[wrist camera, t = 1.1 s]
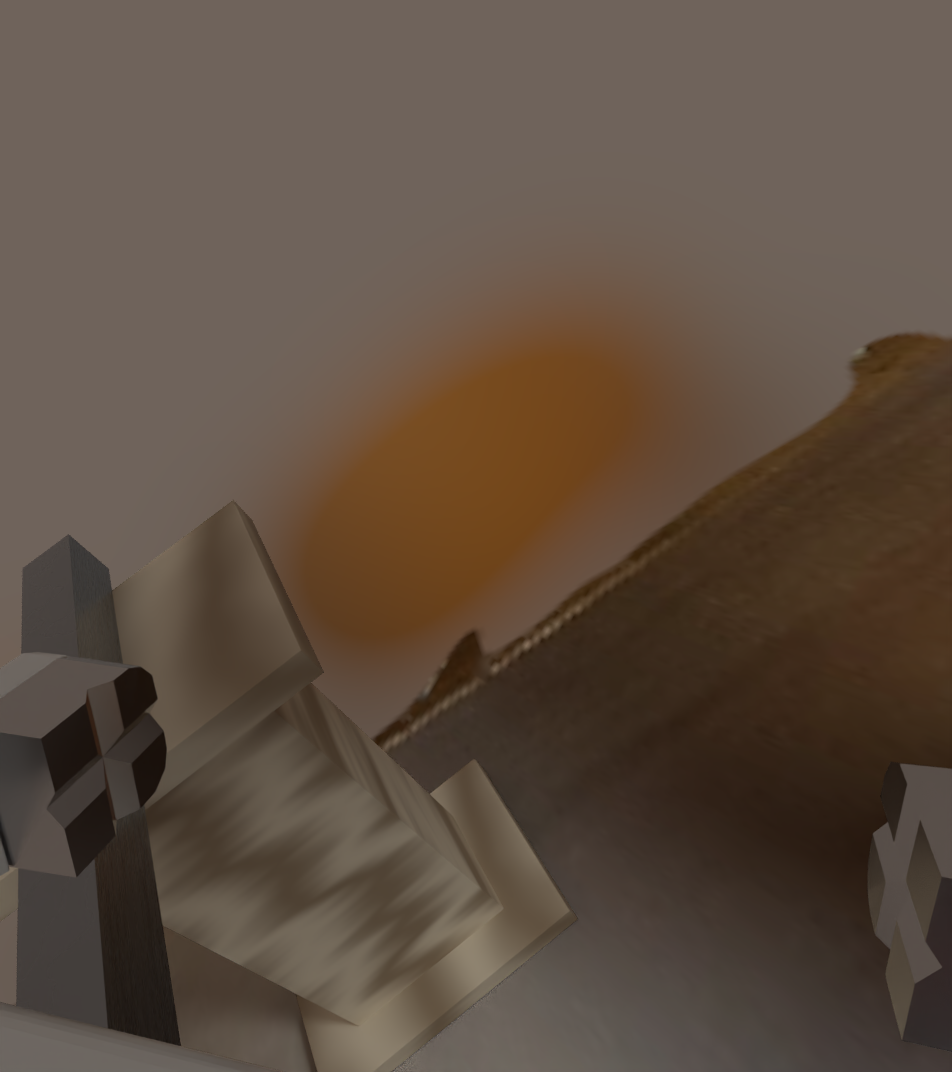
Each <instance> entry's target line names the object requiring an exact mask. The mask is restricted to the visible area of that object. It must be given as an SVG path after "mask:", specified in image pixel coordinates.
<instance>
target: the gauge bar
mask: <svg viewBox="0 0 952 1072" xmlns="http://www.w3.org/2000/svg"><path fill="white" fill-rule="evenodd" d="M22 586H23V587H22V651H21V653H22V654H23V653H33V652H43V653H51V654H60V655H66V656H69V657H71V656H74V657H80V658H87V659H94V660H101V661H107V662H114V663H121V664H123V660H122V654H121V647H120V641H119V634H118V627H117V621H116V614H115V608H114V601H113V594H112V588H111V581H110V574H109V569H108V568H107V567H106V566H105V565H104V564H102V563H101V562H100V561H99V560H98V559H97V558H96V557H94V556H93V555H92V554H91V553H90V552H89V551H87V550H86V549H85V548H84V547H82V546H81V545H80V544H79V543H78V542H77V541H76V540H74V539H73V538H72V537H71V536H70V535H67V536H66V537H64V538H63V539H62V540H61V541H59V542H58V543H56V544H55V545H54V546H52V547H51V548H50V549H48V550H47V551H45V552H44V553H43V554H41V555H40V556H39V557H37V558H36V559H35V560H33V561H32V562H31V563H29V564H28V565H27V566H25V567H24V568H23V582H22ZM17 936H18V939H17V1002H16V1006H18V1007H22V1008H26V1009H31V1010H35V1011H39V1012H43V1013H47V1014H51V1015H55V1016H59V1017H63V1018H67V1019H71V1020H75V1021H80V1022H84V1023H88V1024H92V1025H96V1026H100V1027H104V1028H108V1029H112V1030H116V1031H120V1032H124V1033H129V1034H133V1035H137V1036H141V1037H145V1038H149V1039H153V1040H157V1041H161V1042H165V1043H169V1044H173V1045H178V1046H181V1044H180V1038H179V1031H178V1024H177V1018H176V1011H175V1004H174V998H173V991H172V985H171V978H170V971H169V965H168V958H167V952H166V945H165V938H164V932H163V925H162V918H161V912H160V905H159V899H158V892H157V885H156V879H155V872H154V866H153V859H152V852H151V846H150V839H149V832H148V826H147V819H146V813H145V806H144V805H143V807H142V808H141V809H139V810H137V811H135V812H133V813H131V814H129V815H126V816H124V817H122V818H120V819H118V820H116V836H115V837H114V838H113V839H112V840H111V841H110V842H109V843H108V844H107V846H106V847H105V848H104V849H103V850H102V851H101V852H100V853H99V854H98V855H97V856H96V857H95V858H94V860H93V861H92V862H91V863H90V864H89V865H88V866H87V867H86V868H85V869H84V870H83V871H82V872H81V873H80V875H79V876H78V877H77V878H75V877H69V876H63V875H57V874H51V873H45V872H39V871H33V870H26V869H20V868H18V935H17Z"/></svg>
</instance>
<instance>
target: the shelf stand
mask: <svg viewBox="0 0 952 1072" xmlns="http://www.w3.org/2000/svg"><path fill="white" fill-rule="evenodd" d="M112 594H113V601H114V608H115V614H116V621H117V627H118V634H119V641H120V647H121V654H122V660H123V664H127V665H134V666H141V667H142V668H143V669H145V670H146V671H148V672H149V673H150V674H152V676H153V681H154V685H155V689H156V693H157V697H158V700H157V701H156V703H155V705H154V707H153V708H152V710H151V712H150V714H151V716H152V717H153V718H154V719H155V721H156V722H157V723H158V724H159V725H160V727H161V728H162V729H163V730H164V734H165V740H166V746H167V754H166V766H165V770H164V773H163V775H162V777H161V780H160V782H159V785H158V787H157V789H156V792H155V793H154V794H153V795H152V796H151V797H150V799H149V800H148V801H147V802H146V803H145V804H144V806H145V813H146V819H147V826H148V832H149V839H150V846H151V852H152V859H153V866H154V872H155V879H156V885H157V892H158V899H159V905H160V912H161V918H162V925H163V926H165V927H167V928H168V929H170V930H172V931H174V932H176V933H178V934H180V935H182V936H184V937H186V938H188V939H190V940H192V941H194V942H196V943H198V944H200V945H202V946H204V947H206V948H208V949H209V950H211V951H213V952H215V953H217V954H219V955H221V956H223V957H225V958H227V959H229V960H231V961H233V962H235V963H237V964H239V965H241V966H243V967H245V968H247V969H248V970H250V971H252V972H254V973H256V974H258V975H260V976H262V977H264V978H266V979H268V980H270V981H272V982H274V983H276V984H278V985H280V986H282V987H284V988H286V989H287V990H289V991H291V992H293V993H295V994H296V997H297V1001H298V1005H299V1008H300V1012H301V1015H302V1019H303V1022H304V1026H305V1029H306V1033H307V1037H308V1040H309V1044H310V1047H311V1051H312V1054H313V1058H314V1062H315V1065H316V1069H317V1072H392V1071H393V1070H394V1069H395V1068H396V1067H398V1066H399V1065H400V1064H401V1063H403V1062H404V1061H405V1060H406V1059H407V1058H409V1057H410V1056H411V1055H412V1054H414V1053H415V1052H416V1051H417V1050H418V1049H420V1048H421V1047H422V1046H423V1045H425V1044H426V1043H427V1042H428V1041H429V1040H431V1039H432V1038H433V1037H434V1036H436V1035H437V1034H438V1033H439V1032H440V1031H442V1030H443V1029H444V1028H445V1027H447V1026H448V1025H449V1024H450V1023H451V1022H453V1021H454V1020H455V1019H456V1018H458V1017H459V1016H460V1015H461V1014H462V1013H464V1012H465V1011H466V1010H467V1009H469V1008H470V1007H471V1006H472V1005H473V1004H475V1003H476V1002H477V1001H478V1000H480V999H481V998H482V997H483V996H484V995H486V994H487V993H488V992H489V991H491V990H492V989H493V988H494V987H495V986H497V985H498V984H499V983H500V982H502V981H503V980H504V979H505V978H506V977H508V976H509V975H510V974H511V973H513V972H514V971H515V970H516V969H517V968H519V967H520V966H521V965H522V964H524V963H525V962H526V961H527V960H528V959H530V958H531V957H532V956H533V955H534V954H536V953H537V952H538V951H539V950H541V949H542V948H543V947H544V946H545V945H547V944H548V943H549V942H550V941H552V940H553V939H554V938H555V937H556V936H558V935H559V934H560V933H561V932H563V931H564V930H565V929H566V928H567V927H569V926H570V925H571V924H572V923H574V922H575V921H576V920H577V919H578V918H577V916H576V915H575V913H574V912H573V910H572V909H571V907H570V905H569V904H568V902H567V901H566V899H565V897H564V896H563V894H562V893H561V891H560V889H559V888H558V886H557V885H556V883H555V882H554V880H553V878H552V877H551V875H550V874H549V872H548V870H547V869H546V867H545V866H544V864H543V863H542V861H541V859H540V858H539V856H538V855H537V853H536V851H535V850H534V848H533V847H532V845H531V843H530V842H529V840H528V839H527V837H526V836H525V834H524V832H523V831H522V829H521V828H520V826H519V824H518V823H517V821H516V820H515V818H514V816H513V815H512V813H511V812H510V810H509V809H508V807H507V805H506V804H505V802H504V801H503V799H502V797H501V796H500V794H499V793H498V791H497V789H496V788H495V786H494V785H493V783H492V782H491V780H490V778H489V777H488V775H487V774H486V772H485V770H484V769H483V767H482V766H481V765H480V764H479V763H478V762H477V761H476V760H475V759H473V760H472V761H471V762H469V763H468V764H467V765H466V766H464V767H463V768H462V769H461V770H459V771H458V772H457V773H456V774H454V775H453V776H452V777H450V778H449V779H448V780H447V781H445V782H444V783H443V784H442V785H440V786H439V787H438V788H437V789H435V790H434V791H433V792H432V793H430V794H429V793H428V792H427V791H426V790H425V789H424V788H423V787H421V786H420V785H419V784H418V783H417V782H416V781H415V780H414V779H413V778H412V777H411V776H410V775H409V774H408V773H407V772H406V771H404V770H403V769H402V768H401V767H400V766H399V765H398V764H397V763H396V762H395V761H394V760H393V759H392V758H391V757H390V756H388V755H387V754H386V753H385V752H384V751H383V750H382V749H381V748H380V747H379V746H378V745H377V744H376V743H375V742H374V741H373V740H371V739H370V738H369V737H368V736H367V735H366V734H365V733H364V732H363V731H362V730H361V729H360V728H359V727H358V726H357V725H355V724H354V723H353V722H352V721H351V720H350V719H349V718H348V717H347V716H346V715H345V714H344V713H343V712H342V711H341V710H339V709H338V708H337V707H336V706H335V705H334V704H333V703H332V702H331V701H330V700H329V699H328V698H327V697H326V696H325V695H323V693H321V692H320V691H319V690H318V689H317V688H316V687H315V686H314V685H313V684H312V683H311V682H312V681H313V680H314V679H316V678H317V677H318V676H320V675H321V674H322V673H324V672H323V669H322V667H321V665H320V663H319V661H318V659H317V657H316V655H315V653H314V650H313V648H312V646H311V644H310V642H309V640H308V638H307V636H306V633H305V631H304V629H303V627H302V625H301V623H300V621H299V619H298V616H297V614H296V612H295V610H294V608H293V606H292V604H291V601H290V599H289V597H288V595H287V593H286V591H285V589H284V587H283V585H282V582H281V580H280V578H279V576H278V574H277V572H276V570H275V568H274V565H273V563H272V561H271V559H270V557H269V555H268V553H267V551H266V549H265V546H264V544H263V542H262V540H261V538H260V536H259V534H258V532H257V529H256V527H255V525H254V523H253V521H252V519H251V518H250V517H249V516H248V515H247V514H246V513H245V512H244V511H243V510H242V509H241V508H240V507H239V506H238V505H237V503H236V502H235V501H234V500H233V501H231V502H230V503H229V504H227V505H226V506H225V507H223V508H222V509H221V510H219V511H218V512H217V513H215V514H214V515H213V516H211V517H210V518H209V519H207V520H206V521H205V522H203V523H202V524H201V525H199V526H198V527H197V528H195V529H194V530H193V531H191V532H190V533H189V534H187V535H186V536H185V537H183V538H182V539H181V540H179V541H178V542H177V543H175V544H174V545H173V546H171V547H170V548H169V549H167V550H166V551H164V552H163V553H162V554H161V555H159V556H158V557H157V558H155V559H154V560H152V561H151V562H150V563H148V564H147V565H146V566H144V567H143V568H142V569H140V570H139V571H138V572H136V573H135V574H134V575H132V576H131V577H130V578H128V579H127V580H126V581H124V582H123V583H122V584H120V585H119V586H118V587H116V588H115V589H114V590H112ZM9 868H10V870H9V871H8V872H6V873H5V874H3V875H1V876H0V922H1V921H2V920H3V919H5V918H6V917H7V916H9V915H10V914H11V913H13V912H14V911H15V910H16V909H18V868H14V867H9Z"/></svg>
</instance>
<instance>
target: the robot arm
mask: <svg viewBox="0 0 952 1072" xmlns="http://www.w3.org/2000/svg"><path fill="white" fill-rule="evenodd" d="M157 700H158V697H157V693H156V689H155V685H154V681H153V676H152V674H150V673H149V672H148V671H146V670H145V669H143V668H142V667H141V666H134V665H127V664H121V663H114V662H107V661H101V660H94V659H87V658H80V657H74V656H71V657H69V656H66V655H60V654H51V653H43V652H33V653H23V654H21V655H20V656H18V657H17V658H15V659H13V660H12V661H10V662H9V663H7V664H6V665H4V666H3V667H2V668H0V876H1V875H3V874H5V873H6V872H8V871H9V870H10V868H9V867H14V868H20V869H26V870H33V871H39V872H45V873H51V874H57V875H63V876H69V877H75V878H77V877H78V876H79V875H80V873H81V872H82V871H83V870H84V869H85V868H86V867H87V866H88V865H89V864H90V863H91V862H92V861H93V860H94V858H95V857H96V856H97V855H98V854H99V853H100V852H101V851H102V850H103V849H104V848H105V847H106V846H107V844H108V843H109V842H110V841H111V840H112V839H113V838H114V837H115V836H116V820H118V819H120V818H122V817H124V816H126V815H129V814H131V813H133V812H135V811H137V810H139V809H141V808H142V807H143V805H144V804H145V803H146V802H147V801H148V800H149V799H150V797H151V796H152V795H153V794H154V793H155V792H156V789H157V787H158V785H159V782H160V780H161V777H162V775H163V773H164V770H165V766H166V754H167V746H166V740H165V734H164V730H163V729H162V728H161V727H160V725H159V724H158V723H157V722H156V721H155V719H154V718H153V717H152V716H151V714H150V712H151V710H152V708H153V707H154V705H155V703H156V701H157ZM880 797H881V801H882V804H883V807H884V811H885V814H886V817H887V821H888V822H887V823H886V824H885V825H883V826H882V827H881V828H879V829H878V830H877V831H875V832H874V833H873V835H872V842H871V848H870V854H869V860H868V888H867V891H868V899H869V907H870V914H871V919H872V923H873V927H874V932H875V935H876V936H877V937H878V938H879V939H880V940H881V941H882V942H883V943H884V944H885V945H886V946H887V947H888V948H889V949H890V954H889V958H888V963H887V968H886V972H885V977H886V981H887V985H888V989H889V993H890V997H891V1001H892V1004H893V1008H894V1012H895V1016H896V1020H897V1024H898V1028H899V1032H900V1036H901V1040H902V1041H905V1042H910V1043H914V1044H919V1045H923V1046H927V1047H932V1048H936V1049H941V1050H945V1051H950V1052H952V768H943V767H934V766H925V765H916V764H907V763H898V762H890V765H889V767H888V769H887V771H886V774H885V777H884V781H883V786H882V791H881V795H880ZM0 1072H284V1071H280V1070H276V1069H271V1068H267V1067H263V1066H259V1065H255V1064H251V1063H247V1062H243V1061H239V1060H235V1059H231V1058H227V1057H222V1056H218V1055H214V1054H210V1053H206V1052H202V1051H198V1050H194V1049H190V1048H186V1047H182V1046H178V1045H173V1044H169V1043H165V1042H161V1041H157V1040H153V1039H149V1038H145V1037H141V1036H137V1035H133V1034H129V1033H124V1032H120V1031H116V1030H112V1029H108V1028H104V1027H100V1026H96V1025H92V1024H88V1023H84V1022H80V1021H75V1020H71V1019H67V1018H63V1017H59V1016H55V1015H51V1014H47V1013H43V1012H39V1011H35V1010H31V1009H26V1008H22V1007H18V1006H14V1005H10V1004H6V1003H2V1002H0Z"/></svg>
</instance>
